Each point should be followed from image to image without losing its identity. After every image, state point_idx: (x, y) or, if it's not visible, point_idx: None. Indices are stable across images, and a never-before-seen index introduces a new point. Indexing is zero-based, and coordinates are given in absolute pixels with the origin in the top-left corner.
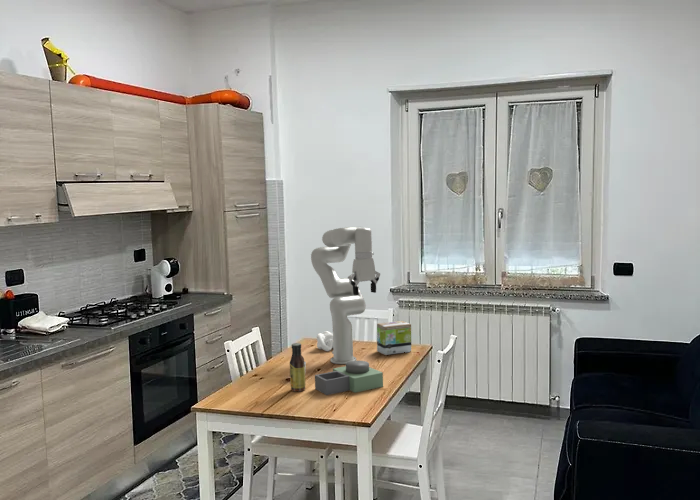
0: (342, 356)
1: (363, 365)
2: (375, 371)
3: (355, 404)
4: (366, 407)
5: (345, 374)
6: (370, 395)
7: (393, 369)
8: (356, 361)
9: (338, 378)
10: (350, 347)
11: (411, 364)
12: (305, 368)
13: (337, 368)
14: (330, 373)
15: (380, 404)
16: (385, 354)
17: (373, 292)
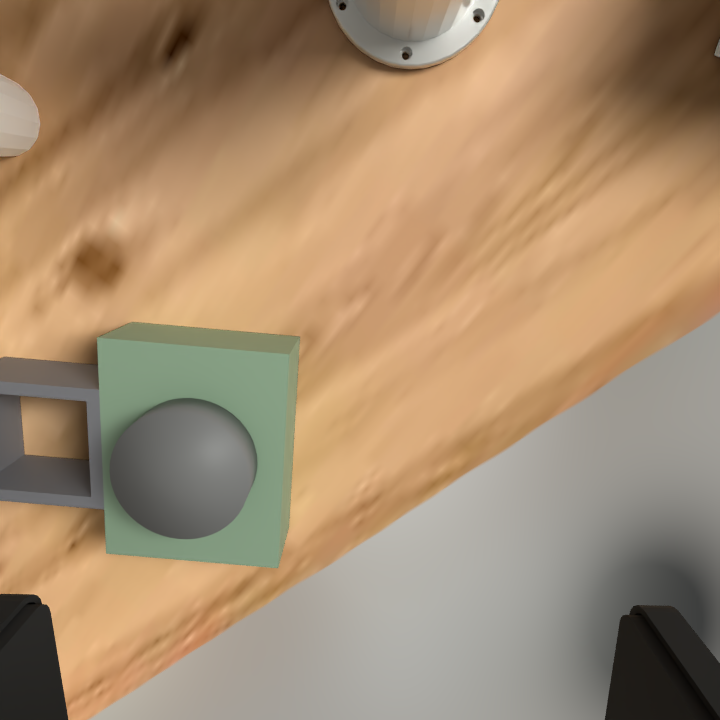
0: (371, 11)
1: (188, 526)
2: (260, 531)
3: (68, 620)
4: (87, 666)
5: (102, 474)
6: (175, 579)
7: (515, 348)
8: (201, 437)
9: (39, 503)
10: (442, 4)
11: (657, 338)
12: (6, 133)
13: (120, 352)
14: (49, 396)
15: (149, 674)
16: (716, 54)
17: (617, 693)
